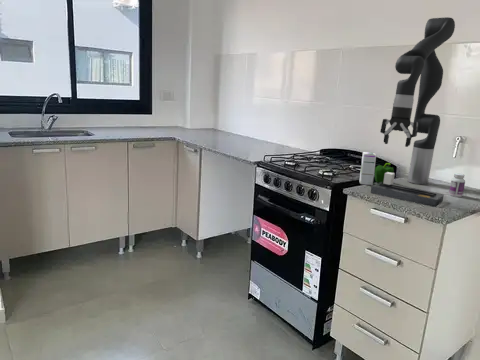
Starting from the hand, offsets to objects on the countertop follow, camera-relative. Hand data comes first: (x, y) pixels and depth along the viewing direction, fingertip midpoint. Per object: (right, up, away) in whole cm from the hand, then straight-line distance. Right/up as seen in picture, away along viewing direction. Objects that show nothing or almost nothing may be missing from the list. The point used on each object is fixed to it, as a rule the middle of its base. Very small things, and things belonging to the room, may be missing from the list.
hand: (396, 145), depth 165 cm
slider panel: (+4, -22, 0) cm, 22 cm away
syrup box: (-7, -16, +19) cm, 26 cm away
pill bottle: (+29, -22, +7) cm, 37 cm away
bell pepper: (+2, -16, +22) cm, 28 cm away
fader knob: (-2, -17, +4) cm, 18 cm away
